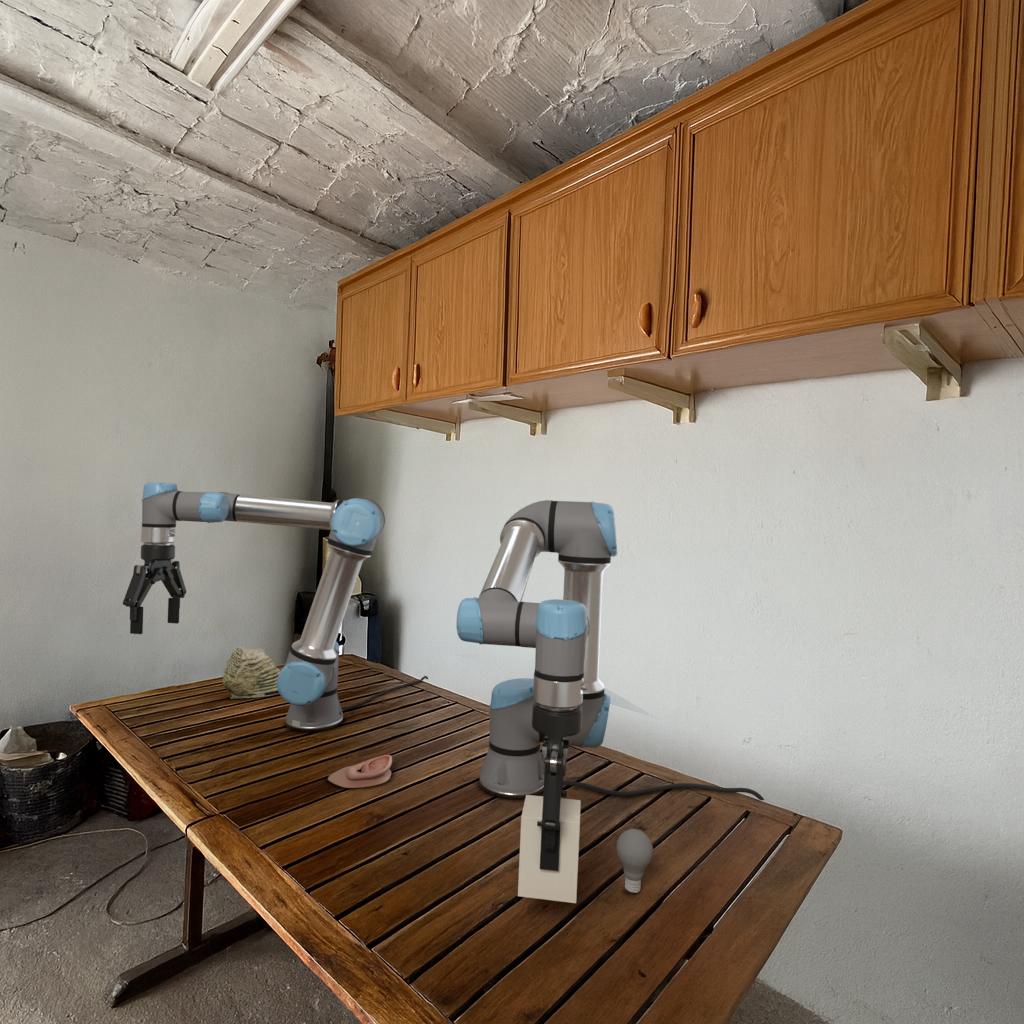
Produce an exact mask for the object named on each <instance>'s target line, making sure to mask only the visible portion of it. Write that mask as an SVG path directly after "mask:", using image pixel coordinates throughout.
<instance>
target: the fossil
mask: <svg viewBox="0 0 1024 1024" xmlns="http://www.w3.org/2000/svg"><path fill="white" fill-rule="evenodd" d="M280 671H281V669H279V668H278V667H277V665H276V663H275V662H274V660H273V659H272V658H271V657H270V656H269V655H268V654H267V653H266V652H265V650H264V649H263V648H260V647H258V648H251V647H247V646H246V647H245V646H238V647H237V648H236V649H235V650H233V651H232V653H231V656H230V657H229V659H228V660H227V663H226V666H225V668H224V671H223V675H222V676H223V677H222V685H223V687H224V688H225V690H226V691H228V693H229V698H230V699H250V698H264V697H271V696H275V695H280V693H279V692H278V688H277V678H278V675H279V672H280Z"/></svg>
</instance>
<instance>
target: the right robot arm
mask: <svg viewBox="0 0 1024 1024" xmlns="http://www.w3.org/2000/svg"><path fill="white" fill-rule="evenodd" d="M615 517H616V516H615V510H614V507H613V506H612V505H610V504H609V503H605V502H596V501H570V500H569V501H568V500H551V499H549V500H548V499H545V500H539V501H536V502H532V503H529V504H528V505H525V506H524V507H522V508H520V509H519V510H518V511H516V512H514V514H512V515H511V516H510V517H509V519H507V520H506V522H505V523H504V525H503V527H502V529H501V532H500V535H499V543H500V546H499V548H498V551H497V553H496V554H495V555H496V556H495V558H494V560H493V563H492V565H491V567H490V570H489V572H488V574H487V577H486V579H485V581H484V584H483V586H482V589H481V590H480V593H479V596H478V597H475V596H474V597H466V598H464V599H462V600H461V601H460V602H459V605H458V607H457V613H456V633H457V636H458V638H459V639H460V641H462V642H466V643H472V644H473V643H475V644H479V645H490V646H491V645H492V646H504V647H505V646H506V647H519V648H528V649H529V648H530V649H535V655H534V656H535V657H534V658H535V659H534V660H535V661H534V672H533V678H532V677H521V678H511V679H508V680H507V679H506V680H504V681H501V682H499V683H498V684H496V685H495V686H494V687H493V688H492V691H491V698H490V703H489V709H490V713H489V733H488V734H489V735H488V738H489V739H488V750H487V753H486V755H485V758H484V761H483V763H482V767H481V769H480V772H479V779H478V780H479V782H478V783H479V786H480V788H481V789H482V790H483V792H486V793H487V794H490V795H492V796H495V797H498V798H503V799H508V800H509V799H511V800H525V798H526V795H533V796H540V794H541V795H542V793H543V811H542V821H537V826H541V827H542V829H541V851H540V869H544V870H552V871H558V868H559V847H560V825H561V824H560V804H561V798H563V799H568V790H563V789H564V786H570V787H577V788H583V789H588V790H592V791H595V792H597V793H601V794H604V795H610V796H616V797H634V796H638V795H639V796H640V795H644V794H648V793H654V792H655V793H657V792H661V791H667V790H671V789H672V790H673V789H681V788H682V789H684V788H685V789H690V788H691V789H700V790H701V789H702V790H708V791H712V792H713V791H714V792H722V793H744V794H750V795H752V796H753V797H756V799H758V800H759V801H765V799H764V797H763V796H762V795H761V794H760V793H759V792H758V791H756V790H754V789H751V788H749V787H748V788H747V787H723V786H715V785H708V784H702V783H693V782H691V783H690V782H679V783H670V784H669V783H668V784H663V785H659V786H651V787H646V788H641V789H636V790H627V791H620V790H612V789H607V788H605V787H600V786H596V785H593V784H589V783H584V782H579V781H573V780H567V779H564V777H565V776H566V774H567V773H566V772H567V761H568V757H569V751H570V750H569V749H570V747H576V748H580V749H582V748H590V749H591V748H592V749H596V748H599V747H601V745H603V742H604V740H605V737H606V736H605V735H606V730H607V726H608V720H609V712H610V707H611V699H612V696H611V695H610V694H608V693H605V691H606V690H605V689H606V687H605V684H604V683H603V682H602V681H601V679H599V669H600V650H601V649H600V648H601V647H600V645H601V630H602V629H601V625H602V624H601V623H602V607H603V606H602V605H603V603H602V602H603V586H604V585H603V582H604V571H605V570H606V569H607V568H608V567H609V566H611V564H612V563H611V561H612V557H613V558H614V557H617V556H618V543H617V542H618V541H617V540H618V539H617V530H616V529H617V528H616V518H615ZM541 553H553V554H554V553H555V554H558V557H557V562H558V563H559V564H560V565H561V567H562V568H563V571H564V572H563V593H562V594H563V595H562V599H558V598H557V599H547V600H542V601H541V602H532V601H531V602H530V601H529V602H528V601H523V597H524V594H525V591H526V588H527V585H528V581H529V578H530V575H531V572H532V569H533V565H534V561H535V559H536V557H538V556H539V555H540V554H541ZM541 744H542V745H541ZM720 788H721V789H720Z"/></svg>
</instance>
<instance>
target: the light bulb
mask: <svg viewBox="0 0 1024 1024" xmlns="http://www.w3.org/2000/svg"><path fill="white" fill-rule="evenodd" d="M615 849H616V854H617V857H618V859H619V861H620V863H621V865H622V867H623V873H624V874H623V875H624V876H625V878H624V888H625V890H627V891H628V892H630V893H634V894H635V893H639V892H640V891H641V889H642V887H641V886H642V879H643V877H644V875H645V871H646V868H647V867H648V866H649V864H650V863H651V861H652V859H653V855H654V847H653V843H652V841H651V838H649V836H648V835H647V834H646V833H645V832H643V831H642V830H641V829H636V828H629V829H627V830H625V831H623V832H622V833H621V834H620V835H619V837H618V839H617V841H616V847H615Z"/></svg>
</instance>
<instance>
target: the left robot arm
mask: <svg viewBox="0 0 1024 1024" xmlns="http://www.w3.org/2000/svg"><path fill="white" fill-rule="evenodd" d="M141 502H142V503H141V505H142V506H141V530H140V531H141V533H140V542H141V543H143V544H141V546H140V559H141V560H143V565H141V564H135V565H133V570H132V571H133V572H132V577H131V579H130V582H129V585H128V587H127V590H126V592H125V595H124V598H123V600H122V605H123V606H125V607H128V608H129V621H130V623H129V624H130V625H129V634H132V635H143V631H144V630H143V629H144V627H143V626H144V606H142V604H143V603H144V600H145V599H146V597H147V596H148V594H149V592H150V590H151V588H152V586H153V585H155V584H156V583H157V582H160V581H161V582H162V584H163V586H164V587H165V589H166V591H167V592H168V594H169V596H170V597H168V598H167V601H168V602H167V624H179V623H180V609H181V599H184V598H185V596H186V594H187V589H186V585H185V581H184V579H183V575H182V572H181V566H180V565H181V564H180V560H174V559H175V558H176V545H175V544H174V543H175V542H176V527H177V522H193V523H194V522H195V523H199V522H200V523H207V524H211V523H212V524H213V523H223V522H224V521H225V522H234V523H235V522H237V523H238V522H239V523H248V524H249V523H250V524H259V525H260V524H261V525H271V526H282V527H293V528H304V529H315V530H326V531H330V532H329V535H328V538H327V541H326V545H327V547H328V548H329V550H330V551H329V553H328V557H327V560H326V563H325V566H324V568H323V571H322V575H321V578H320V580H319V584H318V586H317V589H316V591H315V595H314V597H313V601H312V603H311V606H310V609H309V613H308V616H307V618H306V622H305V624H304V628H303V630H302V633H301V637H300V639H298V640H296V641H294V642H293V643H292V644H291V646H290V649H289V651H288V655H287V658H286V661H285V664H284V666H283V667H282V668H281V669H280V672H279V675H278V678H277V688H278V692H279V693H280V694H279V695H280V696H281V698H282V699H283V700H284V701H285V702H287V703H288V704H289V708H288V711H287V713H286V715H285V726H286V728H287V729H289V730H291V731H294V732H295V731H296V732H301V733H316V732H325V731H329V730H332V729H335V728H337V727H339V726H340V725H342V723H343V722H344V714H343V711H344V710H350V709H354V708H356V707H358V706H361V705H363V704H365V703H368V702H370V701H372V700H374V699H375V698H377V697H380V696H383V695H384V694H387V693H390V692H392V691H395V690H398V689H402V688H404V687H408V686H412V685H416V684H419V683H422V681H424V680H429V677H428V676H427V675H424V676H422V677H421V678H420V679H418V680H415V681H412V682H408V683H404V684H401V685H398V686H397V685H396V686H394V687H390V688H388V689H385V690H383V691H380V692H377V693H376V694H374V695H372V696H370V697H368V698H366V699H364V700H362V701H359V702H356V703H355V704H352V705H348V706H341V702H340V699H339V695H338V682H339V681H338V680H339V678H338V677H339V657H340V656H339V655H340V645H339V643H338V641H337V639H338V636H339V633H340V630H341V627H342V624H343V622H344V621H343V620H344V618H345V615H346V612H347V609H348V606H349V604H350V600H351V597H352V595H353V592H354V588H355V586H356V582H357V580H358V577H359V574H360V571H361V568H362V565H363V563H364V561H365V560H367V559H369V558H371V557H372V555H373V551H374V549H375V545H376V542H377V540H378V538H379V536H380V535H381V533H382V532H383V530H384V528H385V526H386V516H385V512H384V510H383V508H382V507H381V505H379V503H378V502H376V501H374V500H371V499H369V498H360V497H354V498H350V499H347V500H346V499H337V500H335V501H334V502H330V501H329V502H327V501H317V500H316V501H315V500H306V499H296V498H295V499H294V498H284V497H273V496H262V495H252V494H238V493H231V492H227V491H218V492H215V491H183V490H182V491H181V490H179V489H178V485H177V484H176V483H175V482H154V481H151V482H150V481H148V482H146V483H145V484H144V485H143V490H142V498H141Z"/></svg>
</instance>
